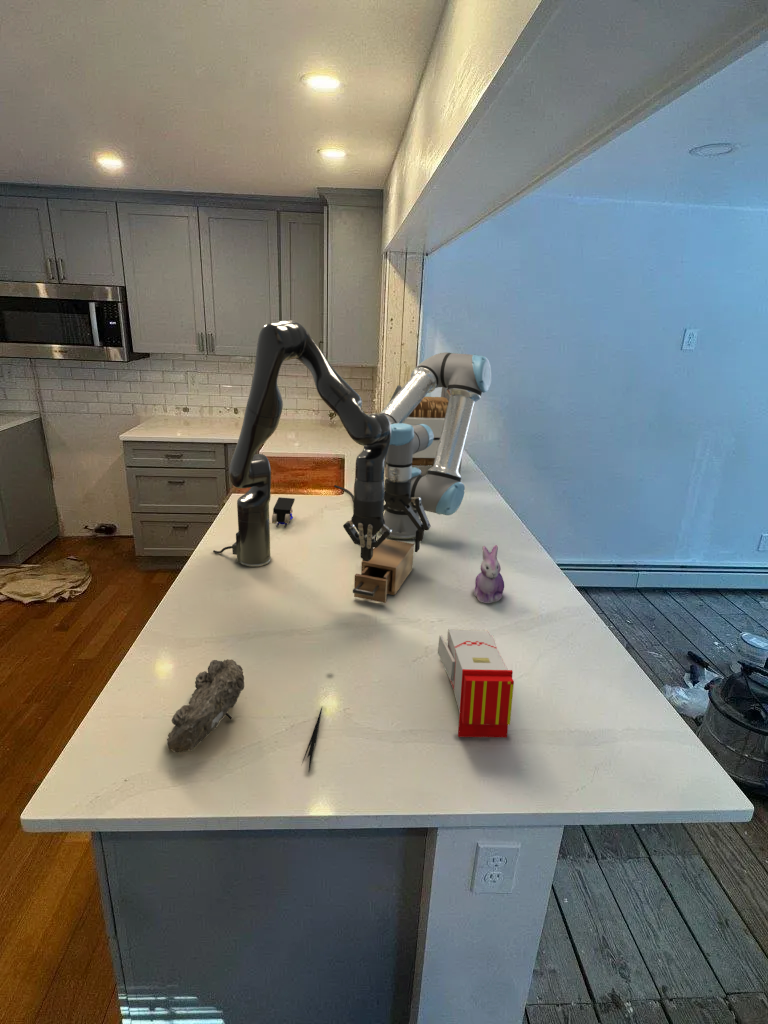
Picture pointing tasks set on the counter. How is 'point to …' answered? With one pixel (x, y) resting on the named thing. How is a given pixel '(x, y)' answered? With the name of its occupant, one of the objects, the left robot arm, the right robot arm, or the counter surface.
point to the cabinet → (393, 561)
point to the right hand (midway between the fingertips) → (395, 546)
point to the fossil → (206, 705)
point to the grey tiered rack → (428, 424)
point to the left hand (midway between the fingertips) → (366, 560)
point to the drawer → (373, 584)
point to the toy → (478, 682)
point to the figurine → (489, 578)
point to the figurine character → (283, 511)
